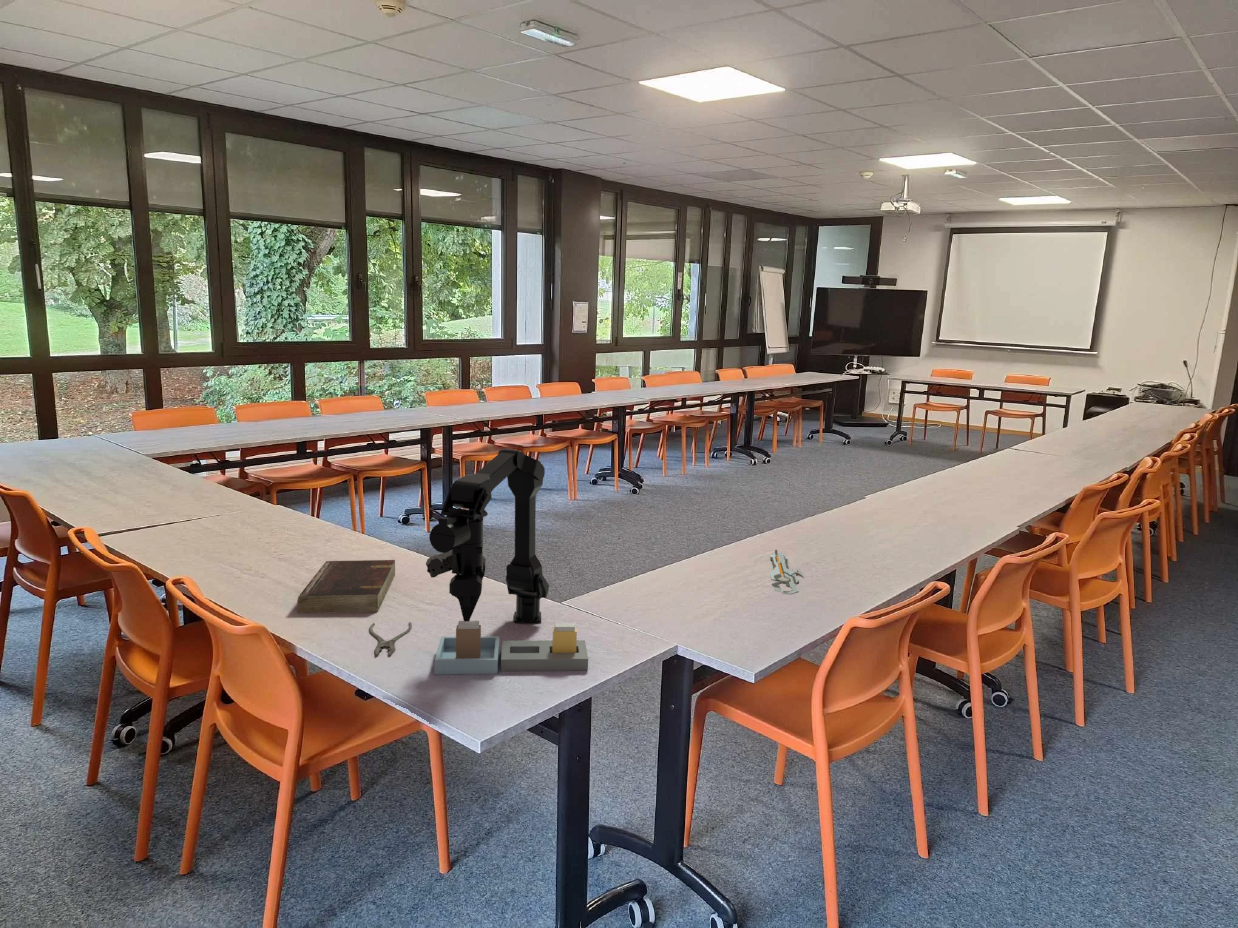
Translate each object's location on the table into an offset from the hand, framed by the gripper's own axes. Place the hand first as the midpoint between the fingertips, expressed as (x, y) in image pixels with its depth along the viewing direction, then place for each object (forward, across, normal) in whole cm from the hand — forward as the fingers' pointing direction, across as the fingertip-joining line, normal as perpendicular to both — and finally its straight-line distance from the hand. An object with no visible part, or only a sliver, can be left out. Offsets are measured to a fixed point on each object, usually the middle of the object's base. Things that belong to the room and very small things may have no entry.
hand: (468, 613), depth 168 cm
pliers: (+11, -13, -17) cm, 25 cm away
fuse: (+11, 0, +20) cm, 23 cm away
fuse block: (+11, 0, +16) cm, 19 cm away
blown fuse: (+10, 0, 0) cm, 10 cm away
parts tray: (+11, 0, 0) cm, 11 cm away
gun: (+11, -62, +89) cm, 110 cm away
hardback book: (+11, -44, -33) cm, 57 cm away
